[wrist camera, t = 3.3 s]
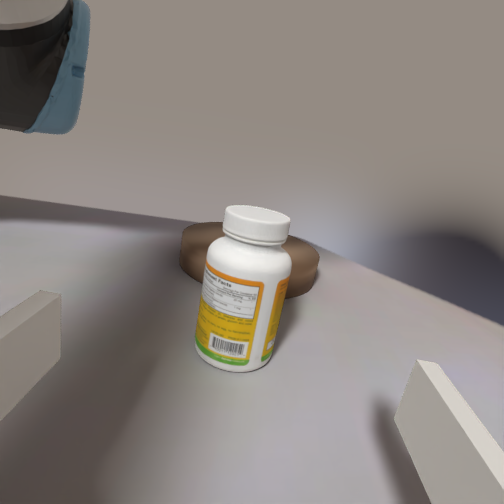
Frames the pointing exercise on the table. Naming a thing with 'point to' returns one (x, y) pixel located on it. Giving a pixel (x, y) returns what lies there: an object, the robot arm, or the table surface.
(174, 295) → the table surface
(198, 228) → the walnut base
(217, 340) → the supplement bottle
